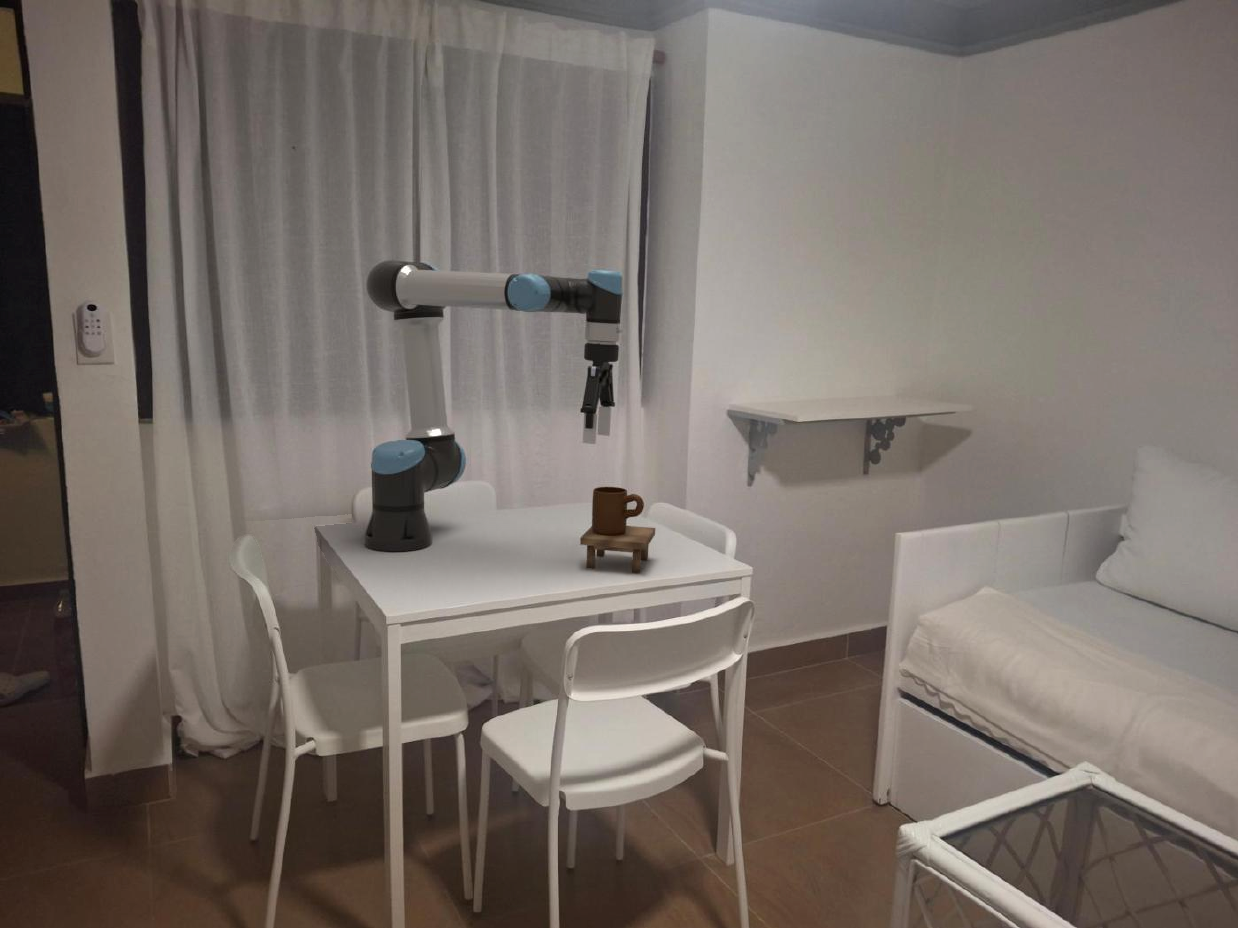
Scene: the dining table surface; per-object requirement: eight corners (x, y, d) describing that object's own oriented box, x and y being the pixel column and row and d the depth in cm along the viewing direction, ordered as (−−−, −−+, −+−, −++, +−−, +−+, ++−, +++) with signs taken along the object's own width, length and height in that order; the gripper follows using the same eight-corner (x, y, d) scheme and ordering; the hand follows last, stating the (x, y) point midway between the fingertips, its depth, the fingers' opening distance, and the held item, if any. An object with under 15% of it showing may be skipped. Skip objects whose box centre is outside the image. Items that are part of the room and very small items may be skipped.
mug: (650, 533, 198) (651, 491, 196) (634, 540, 191) (635, 497, 189) (602, 526, 203) (603, 485, 201) (585, 532, 196) (586, 490, 195)
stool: (579, 569, 193) (580, 537, 192) (593, 552, 207) (594, 523, 206) (643, 575, 191) (645, 543, 189) (654, 558, 204) (655, 527, 203)
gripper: (605, 346, 184) (600, 448, 187) (630, 342, 208) (624, 433, 211) (570, 343, 185) (565, 445, 189) (598, 340, 209) (593, 430, 213)
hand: (596, 439), depth 200 cm, fingers open, 13 cm apart
